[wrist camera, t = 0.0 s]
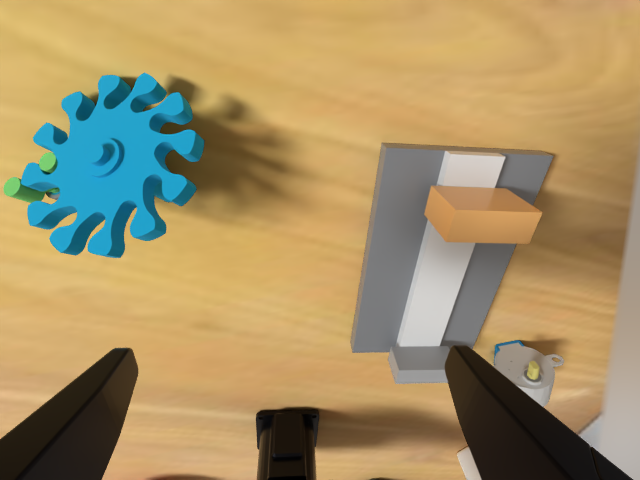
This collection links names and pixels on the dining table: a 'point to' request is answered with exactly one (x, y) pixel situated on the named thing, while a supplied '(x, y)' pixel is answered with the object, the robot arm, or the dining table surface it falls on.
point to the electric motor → (527, 369)
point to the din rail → (432, 256)
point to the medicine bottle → (468, 464)
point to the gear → (109, 166)
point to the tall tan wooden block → (481, 215)
